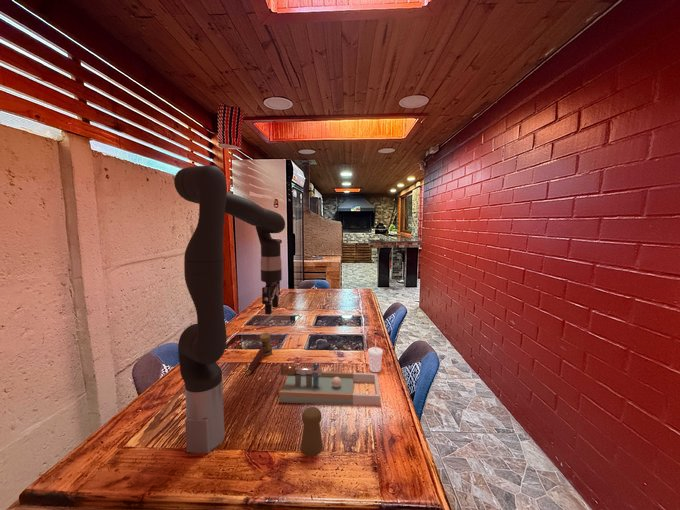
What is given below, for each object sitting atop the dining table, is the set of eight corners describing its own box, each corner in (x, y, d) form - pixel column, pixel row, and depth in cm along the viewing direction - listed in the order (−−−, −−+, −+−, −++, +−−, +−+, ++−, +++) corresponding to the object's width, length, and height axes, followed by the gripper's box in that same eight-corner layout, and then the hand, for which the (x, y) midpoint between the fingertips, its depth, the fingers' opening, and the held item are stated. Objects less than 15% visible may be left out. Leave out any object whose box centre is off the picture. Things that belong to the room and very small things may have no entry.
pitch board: (379, 407, 91) (380, 389, 91) (279, 403, 93) (279, 384, 93) (376, 383, 105) (377, 367, 105) (289, 379, 107) (289, 363, 106)
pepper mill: (311, 436, 79) (311, 400, 78) (327, 447, 75) (327, 409, 74) (296, 449, 74) (295, 411, 73) (311, 461, 70) (311, 422, 69)
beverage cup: (365, 368, 116) (365, 336, 114) (378, 366, 118) (378, 334, 117) (371, 376, 110) (372, 342, 109) (385, 373, 112) (386, 340, 111)
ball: (341, 389, 97) (341, 380, 97) (331, 389, 97) (331, 380, 97) (341, 384, 101) (341, 375, 100) (332, 383, 101) (332, 374, 100)
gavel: (254, 385, 110) (251, 365, 107) (243, 384, 111) (240, 364, 107) (273, 350, 130) (271, 332, 126) (264, 349, 130) (262, 331, 127)
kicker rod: (321, 387, 97) (321, 365, 97) (280, 386, 98) (280, 364, 97) (322, 382, 101) (322, 360, 100) (283, 380, 102) (283, 359, 101)
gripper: (275, 271, 94) (276, 317, 96) (286, 265, 108) (286, 305, 110) (254, 271, 95) (255, 316, 96) (267, 265, 109) (268, 304, 111)
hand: (272, 310), depth 103 cm, fingers open, 8 cm apart
